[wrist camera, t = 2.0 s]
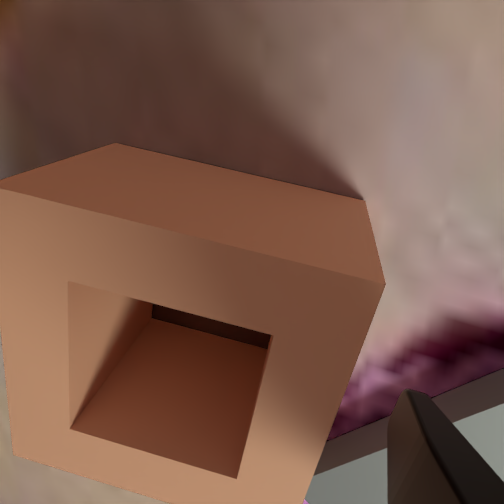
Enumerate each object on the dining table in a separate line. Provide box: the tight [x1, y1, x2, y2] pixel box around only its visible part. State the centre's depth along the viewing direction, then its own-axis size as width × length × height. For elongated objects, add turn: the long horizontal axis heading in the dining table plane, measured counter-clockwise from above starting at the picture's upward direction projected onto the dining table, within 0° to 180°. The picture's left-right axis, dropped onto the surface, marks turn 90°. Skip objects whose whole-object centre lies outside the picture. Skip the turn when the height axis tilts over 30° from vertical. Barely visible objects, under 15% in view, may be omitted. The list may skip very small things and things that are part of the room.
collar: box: [0, 143, 386, 504], centre depth 9 cm, size 6×6×4 cm
